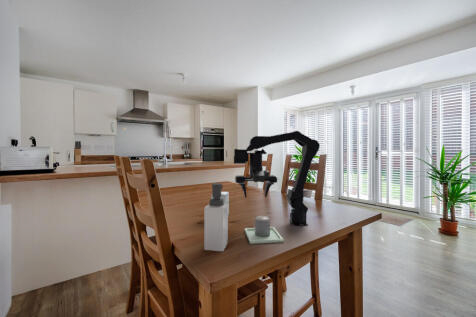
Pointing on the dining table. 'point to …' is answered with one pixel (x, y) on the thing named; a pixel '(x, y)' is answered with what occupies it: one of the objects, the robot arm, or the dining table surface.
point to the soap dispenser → (216, 221)
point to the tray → (254, 239)
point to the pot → (262, 226)
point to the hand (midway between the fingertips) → (255, 197)
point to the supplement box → (224, 198)
